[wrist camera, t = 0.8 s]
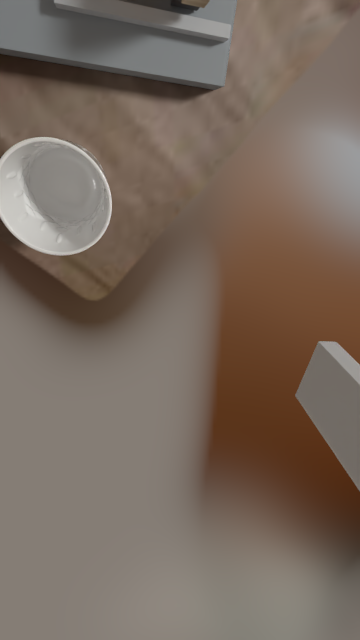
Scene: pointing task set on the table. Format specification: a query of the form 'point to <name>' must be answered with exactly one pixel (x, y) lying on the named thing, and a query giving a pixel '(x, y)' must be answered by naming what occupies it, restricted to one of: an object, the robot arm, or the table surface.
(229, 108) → the table surface
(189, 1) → the tan block
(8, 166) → the white cup
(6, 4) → the board
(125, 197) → the table surface
